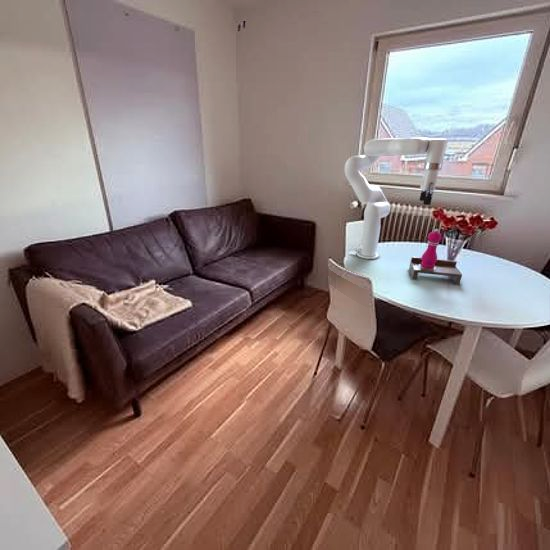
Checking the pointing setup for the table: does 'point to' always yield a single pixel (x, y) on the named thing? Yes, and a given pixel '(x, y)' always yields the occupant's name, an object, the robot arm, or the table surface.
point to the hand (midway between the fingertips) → (424, 202)
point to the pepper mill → (431, 250)
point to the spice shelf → (436, 269)
